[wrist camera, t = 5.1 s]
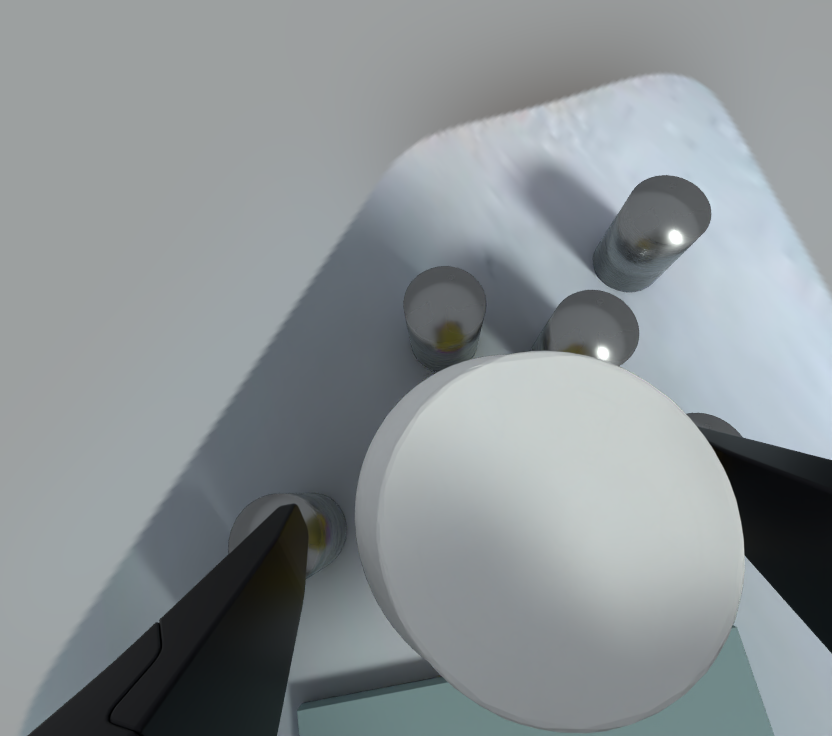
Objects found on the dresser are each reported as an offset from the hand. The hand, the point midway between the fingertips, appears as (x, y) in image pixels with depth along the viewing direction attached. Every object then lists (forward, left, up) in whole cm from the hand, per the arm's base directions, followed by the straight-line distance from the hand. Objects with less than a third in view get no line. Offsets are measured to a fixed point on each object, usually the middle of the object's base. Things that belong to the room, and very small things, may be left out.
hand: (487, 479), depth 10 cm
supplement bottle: (0, -1, -8) cm, 8 cm away
